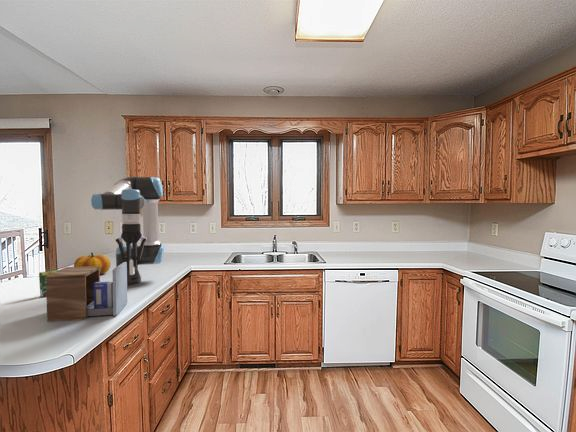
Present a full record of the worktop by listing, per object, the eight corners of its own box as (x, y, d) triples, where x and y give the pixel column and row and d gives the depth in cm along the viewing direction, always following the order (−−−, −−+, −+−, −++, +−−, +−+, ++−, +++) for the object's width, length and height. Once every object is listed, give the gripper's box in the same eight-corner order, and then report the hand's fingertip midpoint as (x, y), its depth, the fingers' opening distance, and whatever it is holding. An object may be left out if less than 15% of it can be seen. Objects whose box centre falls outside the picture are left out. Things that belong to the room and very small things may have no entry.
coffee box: (42, 298, 154) (41, 272, 153) (39, 297, 155) (38, 272, 155) (60, 294, 161) (59, 269, 160) (57, 293, 162) (56, 269, 162)
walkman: (94, 309, 135) (93, 282, 134) (97, 306, 137) (96, 281, 137) (112, 308, 135) (111, 282, 135) (115, 306, 138) (114, 280, 137)
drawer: (95, 304, 143) (94, 263, 142) (127, 302, 146) (126, 262, 146) (80, 318, 127) (79, 271, 126) (116, 315, 130) (115, 269, 129)
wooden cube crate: (66, 307, 140) (65, 267, 139) (100, 305, 144) (99, 266, 143) (47, 321, 124) (45, 276, 123) (85, 318, 127) (84, 274, 126)
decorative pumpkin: (65, 277, 196) (65, 254, 196) (96, 269, 217) (96, 249, 217) (88, 279, 190) (87, 256, 189) (118, 272, 211) (117, 251, 210)
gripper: (112, 223, 132) (113, 276, 133) (145, 223, 135) (145, 275, 137) (118, 222, 140) (118, 273, 141) (148, 222, 143) (149, 271, 144)
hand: (132, 274), depth 139 cm, fingers closed
